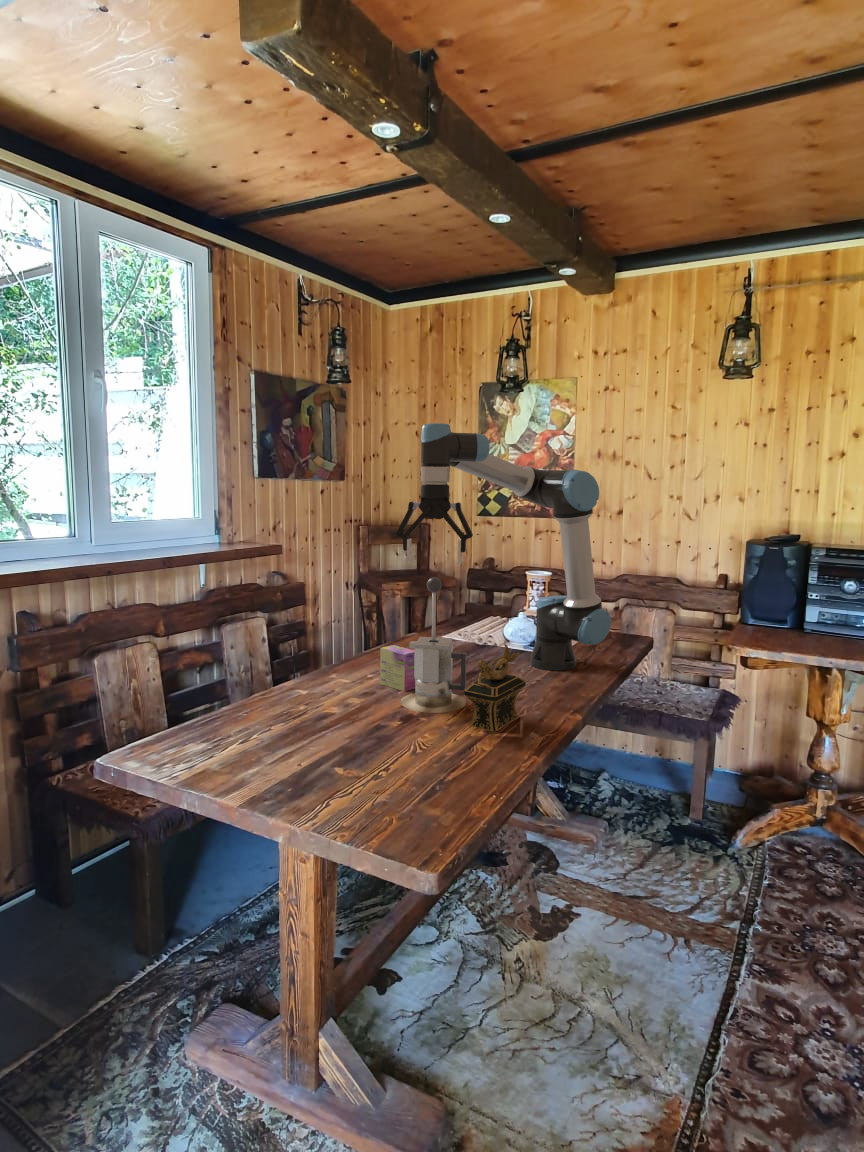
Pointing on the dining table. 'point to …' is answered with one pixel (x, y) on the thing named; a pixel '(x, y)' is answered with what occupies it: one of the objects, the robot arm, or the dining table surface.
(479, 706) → the decorative box
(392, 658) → the box
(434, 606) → the plunger
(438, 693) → the carafe
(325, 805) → the dining table surface
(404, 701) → the beige plate
